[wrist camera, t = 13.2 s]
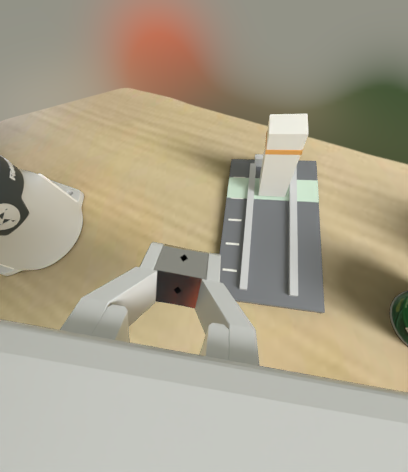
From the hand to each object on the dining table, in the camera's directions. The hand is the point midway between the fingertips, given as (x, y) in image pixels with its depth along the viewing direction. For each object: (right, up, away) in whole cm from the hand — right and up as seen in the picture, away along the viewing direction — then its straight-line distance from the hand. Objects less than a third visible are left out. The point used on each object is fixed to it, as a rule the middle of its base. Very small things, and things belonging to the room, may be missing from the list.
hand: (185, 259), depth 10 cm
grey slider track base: (+11, +3, +24) cm, 27 cm away
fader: (+12, +9, +25) cm, 29 cm away
